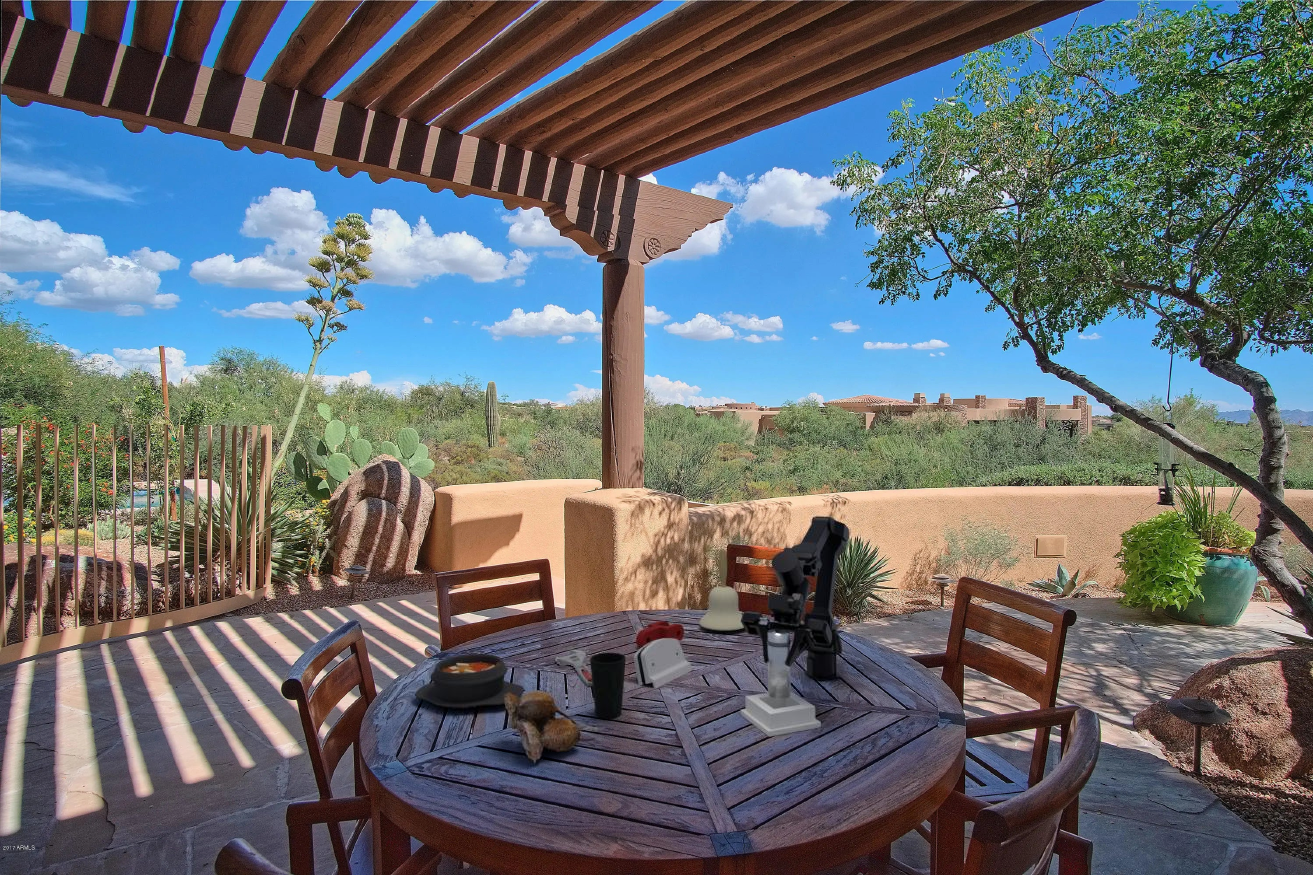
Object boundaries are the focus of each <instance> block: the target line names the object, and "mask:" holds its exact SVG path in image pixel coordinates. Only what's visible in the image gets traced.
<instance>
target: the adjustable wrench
mask: <svg viewBox="0 0 1313 875" xmlns="http://www.w3.org/2000/svg"><path fill="white" fill-rule="evenodd" d="M571 654H572V655H571ZM585 659H586V660H587V654H586V652H585V651H583V650H579V649H578V650H577V649H570V654H568V655H563V656H561V657H559V656H556V657H555V660H554V662H555V663H556V662H557V663H556V665H557V664H568V665H571V667H572V666H573V667H572V668H575V669H574V670H575V672H576V671H577V672H576V673H577V674H578V676H579V678H580V680H582V682H583V683H584V684H585V685H586V686H587V687H593V684H592V674H591V669H590V668H589V667H588V666H587V665H586V664H585V663H584V662H585V661H586V660H585ZM582 670H583V671H582Z"/></svg>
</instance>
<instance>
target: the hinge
mask: <svg viewBox="0 0 1313 875" xmlns="http://www.w3.org/2000/svg"><path fill="white" fill-rule="evenodd" d="M633 662H634V667H635V672H636V678H637V682H638V683H637V684H638V685H639V686H641V685H642V686H643V685H644V684H645V685H647V684H648V685H649V684H651V683H652V686H653V688H654V689H658V688H660V687H661V686H663V685H666V684H668V683H669V682H671V681H673V680H675V679H677V678H679V677H681V676H683V675H686V674H687V673H690V672H692V671H693V666H692V664H691V662H689V661H688V660H687V659H686V656H685V654H684V651H683V649H682V646H681V643H680V641H678V640H677V639H673V638H663V639H659V640H655V641H652V642H650V643H648V644H646V645H645V646H643V647H642V648H639V649H638V651H636V653H635V654H634V655H633Z"/></svg>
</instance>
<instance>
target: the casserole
mask: <svg viewBox="0 0 1313 875" xmlns="http://www.w3.org/2000/svg"><path fill="white" fill-rule="evenodd" d="M433 670H434V671H433V672H432V673H431V674H430V679H431V680H432V681H431V682H429V683H427V684H425V685H422V686H421V687H420V688H418V689H417V690H416V691H415V692H414V697H415V698H417V699H419V700H422V701H426V702H429V703H431V704H434V705H436V706H439V707H444V708H450V707H452V708H451V709H464V708H463V707H474V706H479V707H483V706H499V705H505V704H504V701H505V700H504V694H506V693H510V692H512V693H513V694H515V695H516V696H518V697H519V698H520V697H521V696H522V695H523V694H524V692H525V688H524V686H523V685H520V684H517V683H512V682H509V681H507V680H505V675H506V674H507V672H508V667H507V665H505V662H504V660H503V658H501V657H500V656H497V655H495V654H494V655H493V654H490V653H489V654H487V653H471V654H462V655H461V654H460V655H457V656H452V657H448V658H445V659H442V660H441V661H439V662H438V663H436V665H435V667H434V669H433ZM474 708H475V707H474Z"/></svg>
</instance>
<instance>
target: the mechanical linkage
mask: <svg viewBox="0 0 1313 875" xmlns="http://www.w3.org/2000/svg"><path fill="white" fill-rule="evenodd" d="M684 629H685V628H684V626H683V624H679V623H672V624H670V623H669V622H668V621H664V620H658V621H655V622H653V623H649V624H647V627H646V628H644V629H643V628H642V629H641V630H639V632H637V634H636V639H635V642H636V643H635V644H636V646H637V647H638V648H639V649H641V648H642V647H643V646H645V645H646V644H648V643H650V642H652V641H655V640H659V639H663V638H673V639H677V640H678V641H679V640H680V641H682V640H683V638H684V634H685V630H684ZM681 639H682V640H681ZM680 641H679V642H680Z"/></svg>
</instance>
